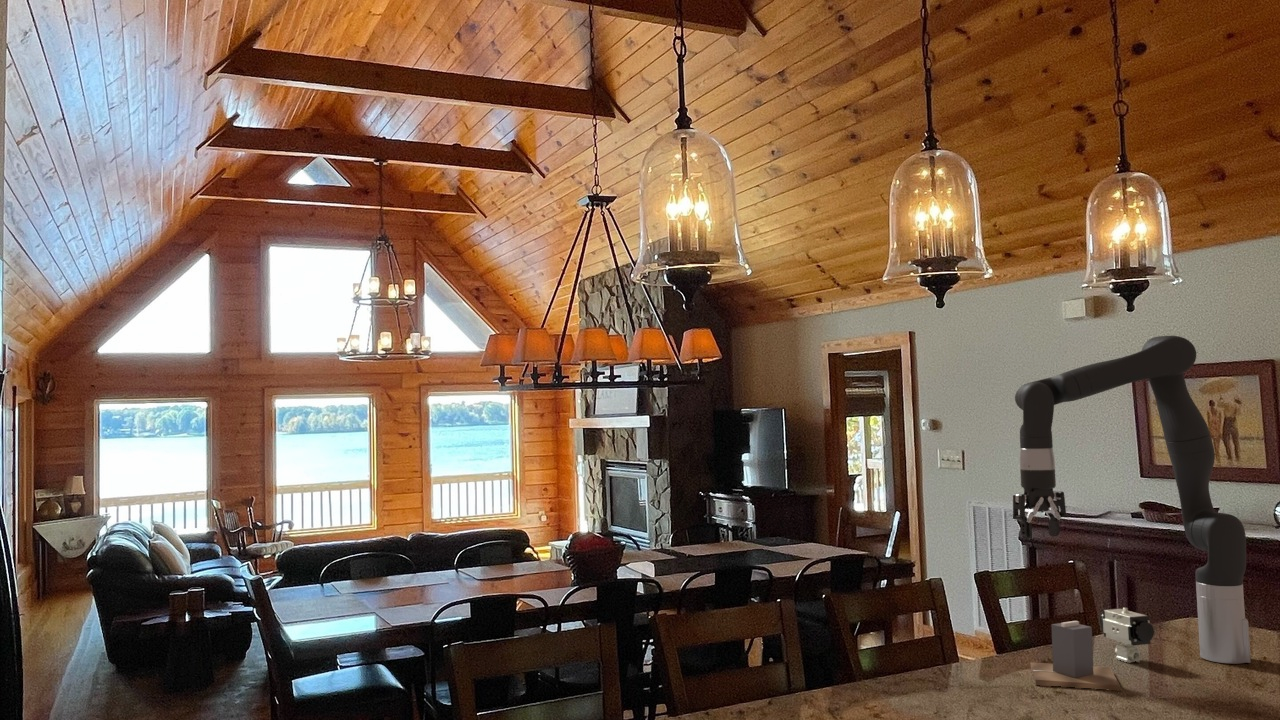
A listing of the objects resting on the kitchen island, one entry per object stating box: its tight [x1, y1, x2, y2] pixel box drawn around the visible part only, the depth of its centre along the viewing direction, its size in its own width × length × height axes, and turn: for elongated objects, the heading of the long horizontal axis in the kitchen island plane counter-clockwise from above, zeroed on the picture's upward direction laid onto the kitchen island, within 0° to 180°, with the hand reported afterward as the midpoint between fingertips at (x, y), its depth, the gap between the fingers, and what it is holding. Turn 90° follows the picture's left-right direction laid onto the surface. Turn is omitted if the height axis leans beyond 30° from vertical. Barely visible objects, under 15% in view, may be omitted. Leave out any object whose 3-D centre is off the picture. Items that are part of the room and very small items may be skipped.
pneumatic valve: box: [1099, 607, 1155, 664], centre depth 211 cm, size 6×12×12 cm, turn 15°
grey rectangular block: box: [1051, 620, 1094, 678], centre depth 199 cm, size 6×6×11 cm
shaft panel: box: [1030, 661, 1121, 691], centre depth 198 cm, size 16×14×6 cm
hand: (1040, 537), depth 215 cm, fingers open, 8 cm apart
